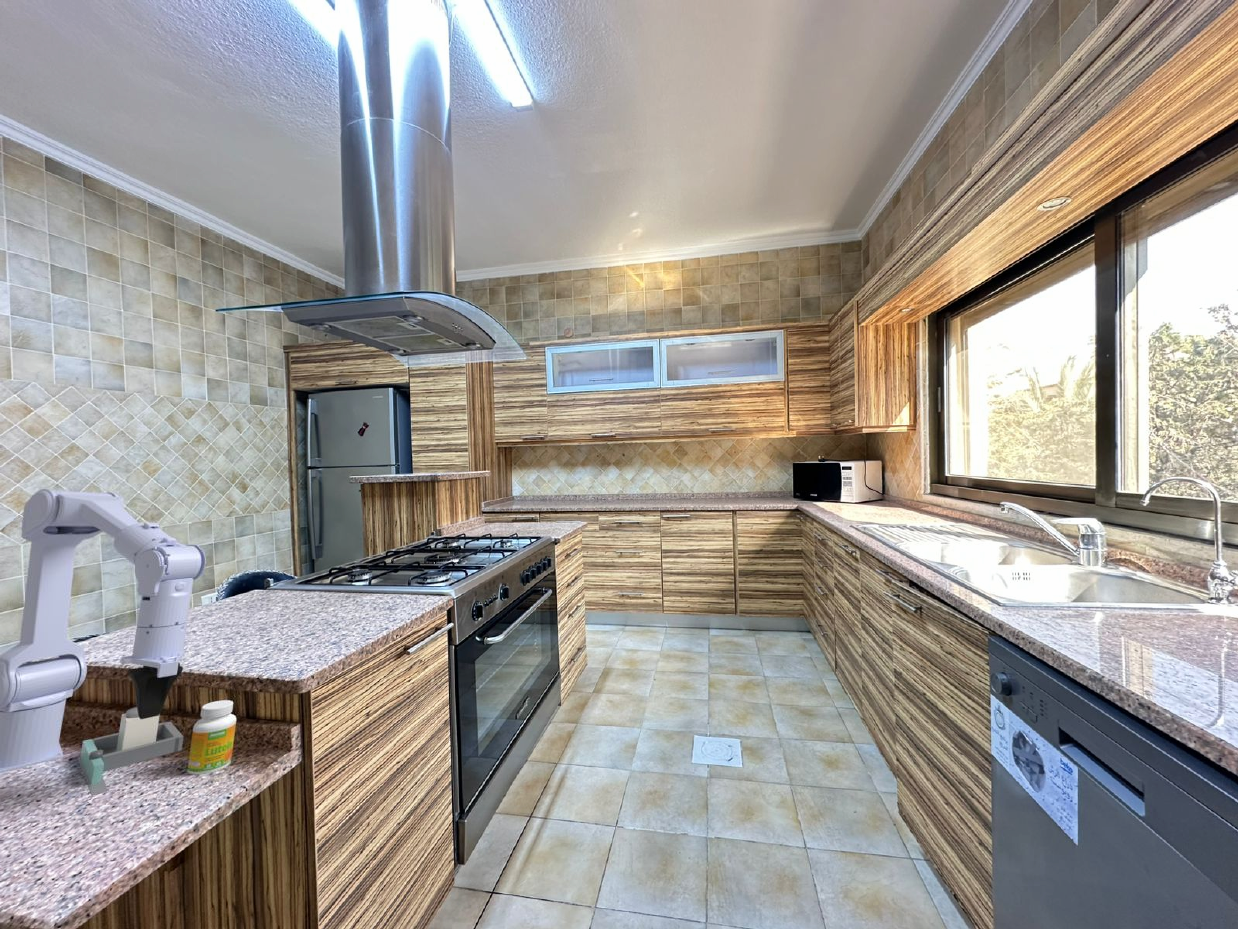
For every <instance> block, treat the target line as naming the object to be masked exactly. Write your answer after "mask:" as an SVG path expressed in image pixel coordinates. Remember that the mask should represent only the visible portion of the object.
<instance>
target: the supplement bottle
mask: <svg viewBox="0 0 1238 929" xmlns="http://www.w3.org/2000/svg"><path fill="white" fill-rule="evenodd" d="M233 709H234V702H233V700H228V699H224V700H216V701H211V702H208V703H206V704H203V706H202V707H201V711H200V719H198V720H197V721H196V722H195V723H194V725H193V728H192V735H191V743H190V751H189V756H188V764H187V773H188V774H189V775H194V776H195V775H197V776H198V775H207V774H210V773H214V772H217V771H220V770H222V769H224V768H226V767H228V766H229V765H230V764H231V762H232V756H233V749H234V742H235V735H236V734H235V733H236V725H237V716H236V715H234V714H232V712H233Z"/></svg>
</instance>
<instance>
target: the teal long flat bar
mask: <svg viewBox="0 0 1238 929" xmlns="http://www.w3.org/2000/svg"><path fill="white" fill-rule="evenodd" d="M102 755H103V750H97V748H96V746H95V744H94V742H93V739H92V738H90V739H87V740H86V739H85V740H83V741H82V745H81V751H80V756H79V757H80V758H81V760H82V763H83V765H84V768H85V770H86V773H87V775H88V777H89V780H90V782H91V785H92V784H96V783H99V782H101V781H102V777H103V773H104V772H103V768H104V763H103V761H102V759H101V757H102Z"/></svg>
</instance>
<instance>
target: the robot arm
mask: <svg viewBox="0 0 1238 929" xmlns="http://www.w3.org/2000/svg"><path fill="white" fill-rule="evenodd" d="M22 514H23V515H22V522H21V524H22V525H21V539H23V540H26V541H29V542H30V549H29V550H30V551H29V560H28V569H27V577H26V584H25V586H26V587H25V594H24V603H23V610H22V612H23V613H22V621H21V628H20V629H21V630H20V637H19V638H20V639H19V643H18V644H16V645H15V646H13V647H12V648H10V649H8V650H7V651H6V652H4V653H2V654H0V774H3V773H6V772H11V771H14V770H19V769H23V768H26V767H31V766H35V765H39V764H44V763H48V762H51V761H55V760H59V759H63V757H64V754H63V750H62V747H61V745H60V736H61V731H62V724H63V720H64V713H65V709H66V708H65V707H66V702H67V699H68V698H71V697H73V694H74V692H75V691H76V690H78V689H79V688H80V687H81V686H82V684H83V683H84V682H85V679H86V677H87V674H88V666H87V665H88V664H87V663H86V660H85V647H84V646H83V645H81V644H79V643H77V642H75V641H72V640H70V639H68V628H69V626H68V625H69V616H70V608H71V596H72V585H73V579H74V578H73V577H74V566H75V559H76V558H75V557H76V548H77V547H78V545H80V544H81V543H82V542H83V541H84V540H89V539H91V538H94V537H96V536H98V535H100V534H101V533H105V534H106V535H108V536H109V537H111V538H113V539H114V540H113V548H114V550H115V551H116V552H118V554H120V555H121V556H123V557H124V558H125V559H126V560H128V561H129V562H130V563H132V564H133V565H134V574H135V577H136V580H137V589H136V591H137V592H138V593H137V595H138V596H141V597H140V603H139V604H140V605H139V610H138V616H137V617H138V618H137V623H136V629H135V630H136V631H135V637H134V643H133V648H132V655H128V656H122V657H120V659H119V663H120V664H121V665H128V664H133V665H137V666H142V667H137V668H132V669H128V670H127V673H128V675H129V677H130V678H131V680H132V684H133V686H134V690H135V698H136V707H137V711H138V716H139V718H140V719H146V718H150V717H155V716H159V717H160V715H159V714H161V712H162V710H163V708H164V706H165V703H166V700H167V697H168V695H169V692H170V691H171V689H172V687H173V685H174V683H175V682H176V680H177V679H178V677H180V675H181V674H182V672H183V670H184V667H183V666H182V665H181V663H180V661H181V660H182V659H183V657H184V656H185V653H186V650H185V649H184V648H185V641H186V633H187V628H188V621H189V615H190V614H189V613H190V607H191V600H192V592H193V586H194V581H195V580H197V579H199V578H200V577H201V576H202V574H203V573H204V572H205V568H206V564H207V559H206V553H205V551H204V550H203V549H202V547H200V546H199V545H198V544H187V545H186V544H181V543H179V541H177V538H175V537H173V536H170V535H169V534H167V533H166V532H165V531H163V530H162V529H160V525H159V524H158V523H156V522H138V521H137V520H136V519H135V518H134V516H132V515H131V514H130V513H129V512H128V511H127V510H126V509H125V501H124V498H122V497H120V495H118V494H117V493H115V492H96V491H95V492H93V491H75V490H73V491H72V490H60V489H59V490H58V489H52V488H42V489H41V488H40V489H39V490H38V491H36V492H35V493H34V494H32V495H31V497H30V498H29V499H28V500H27V501H26V503H25V504H24V507H23V513H22ZM54 657H55V658H54ZM43 659H44V660H43ZM38 660H39V661H38ZM28 662H29V663H28Z"/></svg>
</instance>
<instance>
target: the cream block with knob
mask: <svg viewBox="0 0 1238 929" xmlns="http://www.w3.org/2000/svg"><path fill="white" fill-rule="evenodd" d="M160 714H161V713H160ZM160 714H159V716H155V717H150V718H146V719H140V718H139V716H138V711H137V706H135V707H132V708H130V709H128V710H126V713H122V714H121V718H120V726H119V732H118V733H119V737H118V743H117V749H116V752H117V751H121V750H124V749H128V748H132V747H136V746H140V745H144V744H148V743H152V742H156V736H157V729H158V724H159V723H160V722H159V721H160V716H161V715H160Z"/></svg>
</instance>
